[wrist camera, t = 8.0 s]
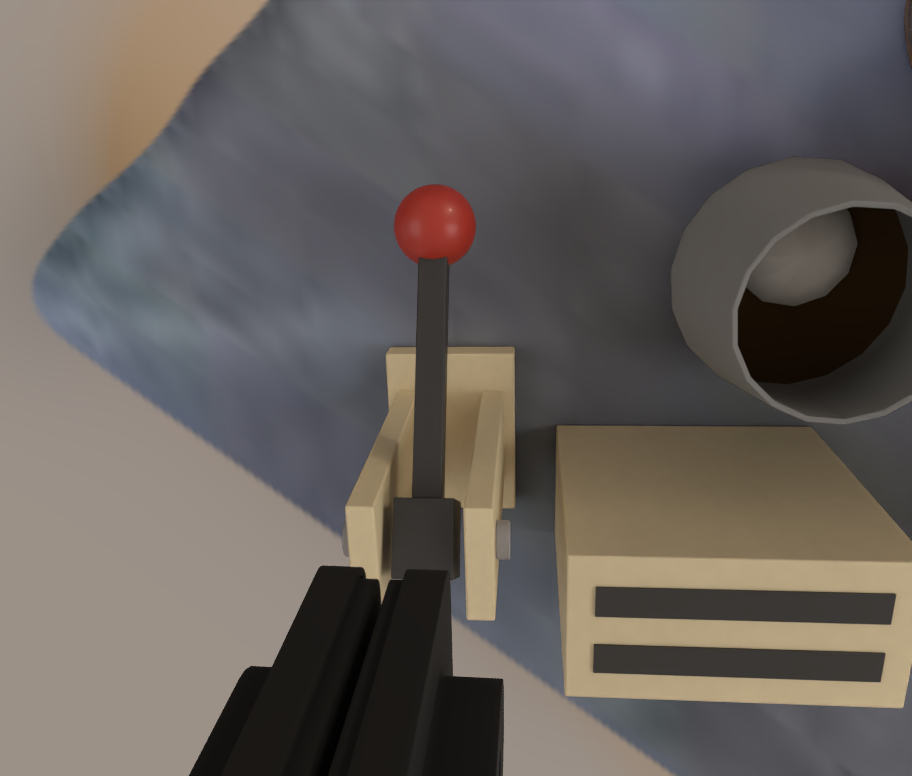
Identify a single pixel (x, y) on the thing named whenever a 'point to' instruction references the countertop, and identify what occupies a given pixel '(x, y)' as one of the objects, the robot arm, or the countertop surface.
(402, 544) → the red knob lever
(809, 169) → the cup
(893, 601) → the toaster
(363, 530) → the lever bracket
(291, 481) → the countertop surface
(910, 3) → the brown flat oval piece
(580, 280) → the countertop surface
